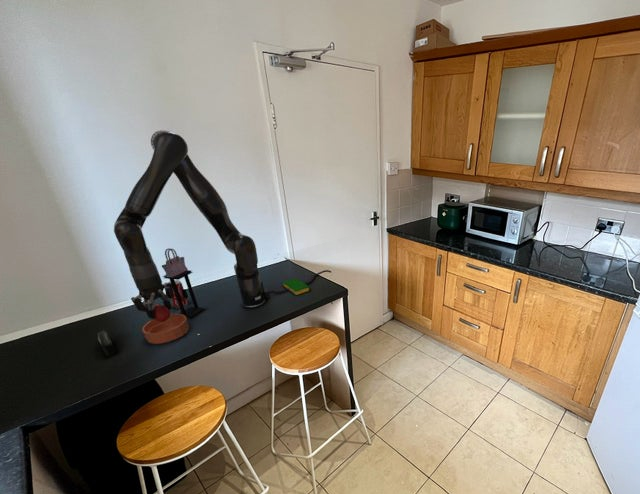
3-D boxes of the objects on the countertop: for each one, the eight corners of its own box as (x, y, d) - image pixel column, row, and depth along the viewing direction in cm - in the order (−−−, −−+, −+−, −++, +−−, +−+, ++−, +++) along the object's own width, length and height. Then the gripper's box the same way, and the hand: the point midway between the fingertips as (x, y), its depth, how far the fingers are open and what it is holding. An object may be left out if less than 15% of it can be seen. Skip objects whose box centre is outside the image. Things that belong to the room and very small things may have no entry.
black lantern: (189, 320, 133) (166, 254, 120) (174, 318, 134) (149, 252, 121) (207, 307, 142) (187, 245, 129) (193, 306, 143) (172, 243, 130)
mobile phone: (112, 343, 111) (103, 326, 119) (101, 347, 109) (93, 329, 117) (118, 354, 113) (108, 337, 122) (107, 358, 111) (98, 340, 120)
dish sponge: (296, 281, 166) (295, 277, 165) (309, 290, 157) (308, 286, 156) (283, 286, 162) (282, 281, 161) (296, 295, 153) (295, 290, 152)
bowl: (171, 321, 132) (167, 311, 130) (198, 327, 128) (194, 316, 126) (137, 341, 120) (132, 330, 117) (166, 347, 116) (161, 336, 114)
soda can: (175, 309, 141) (166, 285, 135) (173, 304, 144) (164, 281, 139) (189, 305, 144) (181, 282, 139) (187, 301, 148) (179, 278, 142)
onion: (176, 319, 123) (170, 301, 119) (162, 327, 118) (155, 308, 114) (165, 316, 125) (159, 299, 121) (151, 324, 120) (143, 306, 116)
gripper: (133, 283, 105) (150, 325, 113) (171, 267, 118) (185, 306, 125) (116, 281, 107) (135, 322, 115) (156, 265, 119) (170, 303, 127)
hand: (161, 313), depth 120 cm, fingers closed on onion, 5 cm apart
